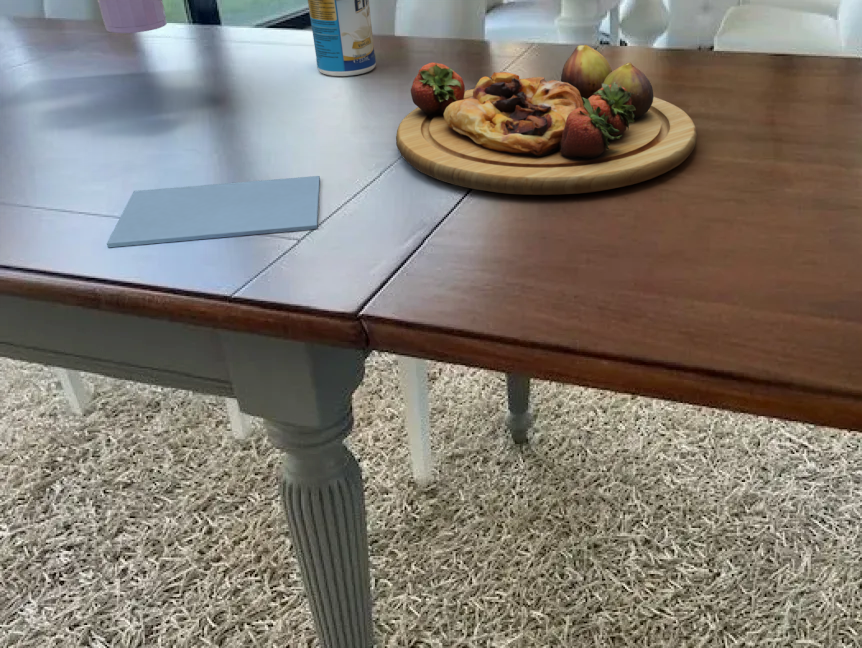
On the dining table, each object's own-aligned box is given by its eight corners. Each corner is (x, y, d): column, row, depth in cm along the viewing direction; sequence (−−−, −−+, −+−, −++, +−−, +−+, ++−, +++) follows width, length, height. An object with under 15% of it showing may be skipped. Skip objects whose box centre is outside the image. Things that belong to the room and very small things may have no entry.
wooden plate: (334, 159, 90) (323, 79, 86) (513, 85, 111) (512, 18, 106) (591, 231, 74) (594, 137, 69) (744, 128, 95) (755, 51, 90)
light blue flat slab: (107, 247, 74) (106, 243, 74) (134, 194, 84) (133, 190, 84) (317, 229, 76) (316, 224, 76) (320, 179, 86) (319, 175, 86)
